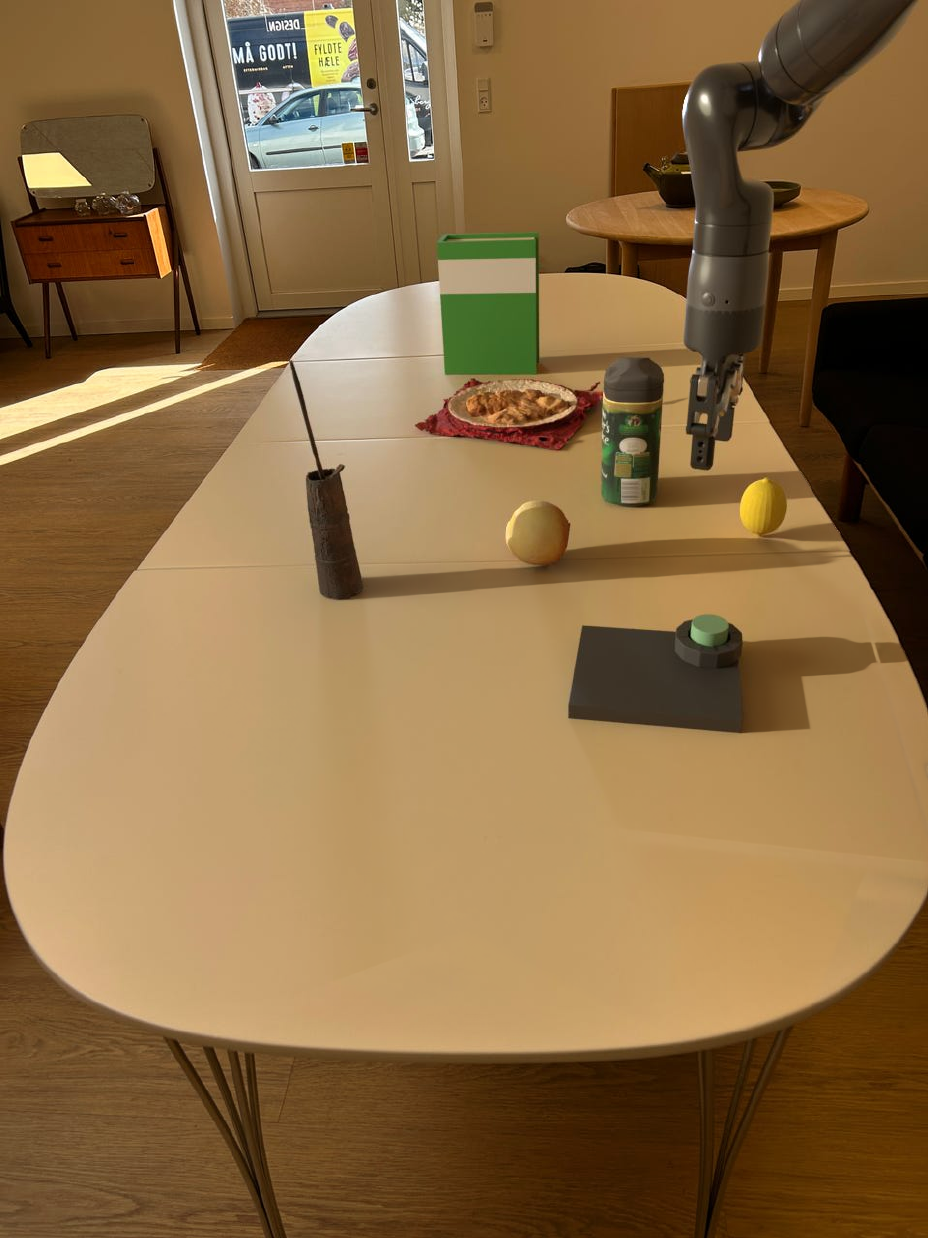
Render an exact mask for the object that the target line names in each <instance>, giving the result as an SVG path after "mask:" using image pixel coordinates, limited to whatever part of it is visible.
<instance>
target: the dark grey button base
mask: <svg viewBox="0 0 928 1238" xmlns="http://www.w3.org/2000/svg"><path fill="white" fill-rule="evenodd" d="M693 619H694V618H692V619H689V620H685V621H683V622H682V623H680V624H679V625H678V626H677V627H676V628H675V631H673V630H671V631H670V630H660V629H659V630H655V629H643V628H642V629H641V628H629V627H628V628H627V627H614V626H613V627H612V626H600V625H599V626H598V625H584V624H583V625H581V628H580V629H581V630H580V635H579V640H578V647H577V651H576V659H575V663H574V671H573V676H572V681H571V688H570V693H569V698H568V705H567V718H568V719H571V720H572V719H573V720H583V721H594V722H606V723H607V722H608V723H618V724H630V725H642V726H653V727H663V728H664V727H665V728H676V729H687V730H697V731H698V730H699V731H709V732H710V731H711V732H720V733H733V734H742V729H743V721H744V715H743V702H742V701H743V699H742V690H741V689H742V688H741V676H740V663H739V659H740V658H741V657H742V651H743V643H744V642H743V641H744V640H743V633H742V631H741V630H740V629H739V628H737V626H735V625H734V624H733V623H732V622H728V624H729V629H728V637H727V641H726V643H725V644H724V645H722V646H718V647H707V646H702V645H699V644H697V643H694V642H693V641H692V639H691V626H692V621H693Z"/></svg>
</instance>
